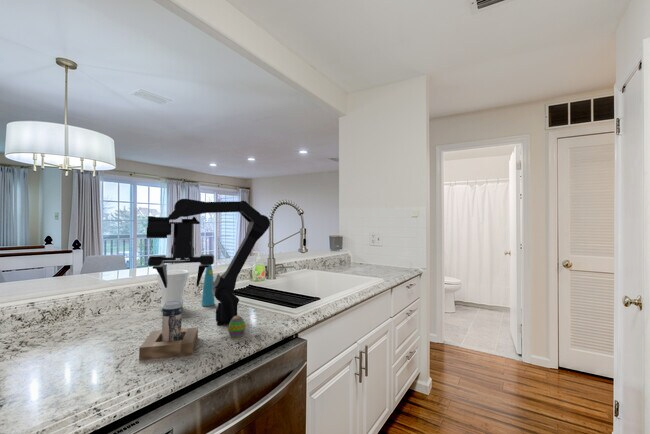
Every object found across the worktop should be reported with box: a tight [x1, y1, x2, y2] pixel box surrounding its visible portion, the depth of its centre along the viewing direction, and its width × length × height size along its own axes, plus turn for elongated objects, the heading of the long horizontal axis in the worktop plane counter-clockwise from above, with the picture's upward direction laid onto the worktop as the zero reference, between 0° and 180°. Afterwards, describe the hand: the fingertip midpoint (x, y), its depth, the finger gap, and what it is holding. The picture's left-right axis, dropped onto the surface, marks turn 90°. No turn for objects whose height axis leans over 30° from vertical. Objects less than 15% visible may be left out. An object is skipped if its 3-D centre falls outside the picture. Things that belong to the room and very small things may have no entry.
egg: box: [227, 314, 246, 339], centre depth 92 cm, size 5×5×6 cm
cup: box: [156, 269, 190, 311], centre depth 119 cm, size 11×11×14 cm
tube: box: [201, 264, 215, 307], centre depth 125 cm, size 7×5×19 cm, turn 26°
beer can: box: [161, 301, 183, 342], centre depth 82 cm, size 5×5×12 cm
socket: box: [138, 327, 199, 361], centre depth 82 cm, size 12×12×3 cm
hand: (182, 287), depth 98 cm, fingers open, 9 cm apart
